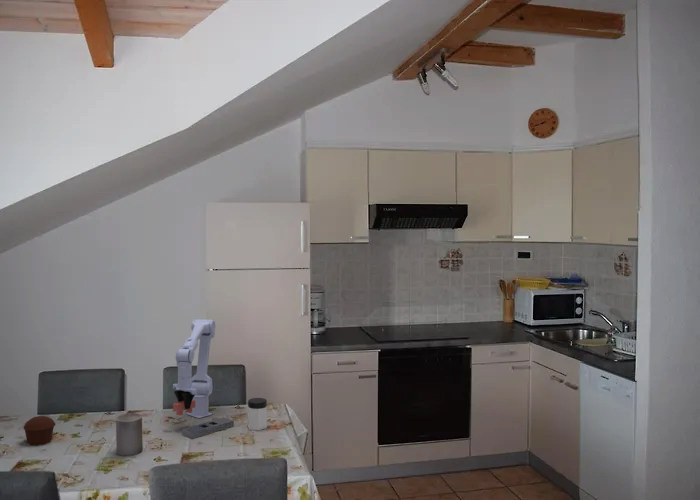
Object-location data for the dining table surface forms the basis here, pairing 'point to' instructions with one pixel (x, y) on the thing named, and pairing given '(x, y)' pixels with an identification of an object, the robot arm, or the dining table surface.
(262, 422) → the jar
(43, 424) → the muffin
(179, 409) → the clip
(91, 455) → the dining table surface
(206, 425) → the rail
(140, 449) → the pillar candle
